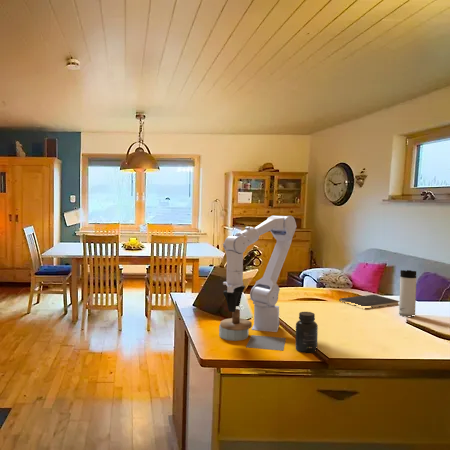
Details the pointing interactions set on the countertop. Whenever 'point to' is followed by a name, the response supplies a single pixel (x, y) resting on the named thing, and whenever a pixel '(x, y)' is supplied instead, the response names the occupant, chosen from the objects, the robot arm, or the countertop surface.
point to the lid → (236, 322)
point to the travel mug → (407, 293)
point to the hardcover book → (370, 300)
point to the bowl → (233, 334)
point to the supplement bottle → (306, 333)
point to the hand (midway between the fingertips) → (234, 308)
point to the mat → (266, 342)
